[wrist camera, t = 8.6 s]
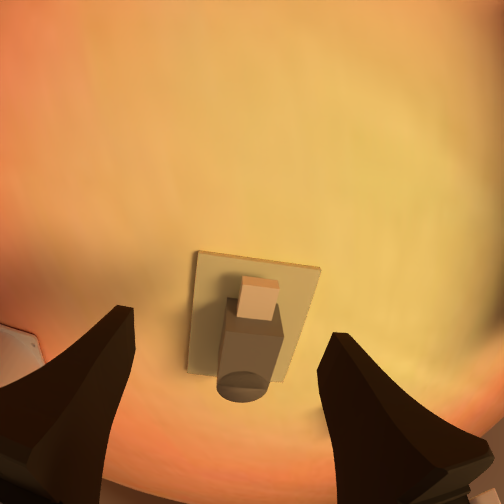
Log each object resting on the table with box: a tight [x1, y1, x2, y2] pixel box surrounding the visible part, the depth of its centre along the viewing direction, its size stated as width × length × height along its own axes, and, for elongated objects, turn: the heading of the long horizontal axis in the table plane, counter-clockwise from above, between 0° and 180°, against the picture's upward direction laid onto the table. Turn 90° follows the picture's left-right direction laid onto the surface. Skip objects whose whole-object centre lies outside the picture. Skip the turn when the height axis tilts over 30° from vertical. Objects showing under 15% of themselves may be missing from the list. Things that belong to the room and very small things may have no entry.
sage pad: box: [187, 251, 321, 382], centre depth 23 cm, size 11×8×1 cm
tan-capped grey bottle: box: [217, 276, 284, 403], centre depth 21 cm, size 9×4×4 cm, turn 170°
